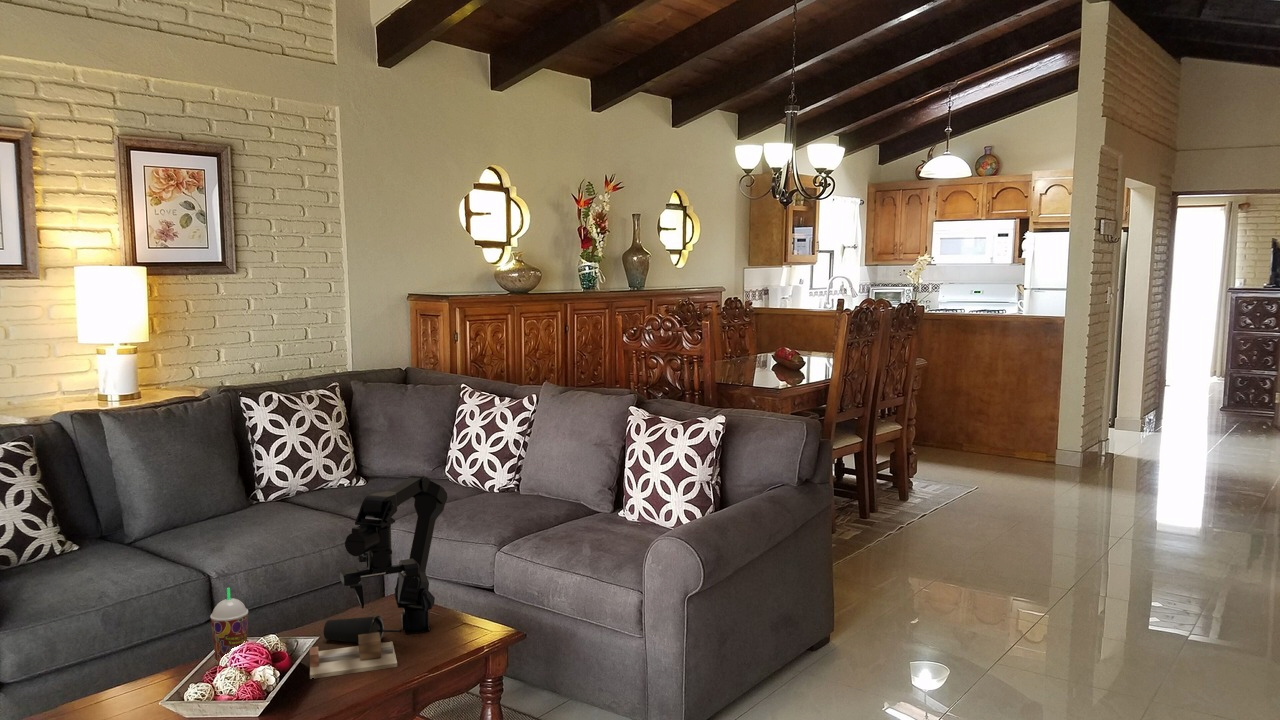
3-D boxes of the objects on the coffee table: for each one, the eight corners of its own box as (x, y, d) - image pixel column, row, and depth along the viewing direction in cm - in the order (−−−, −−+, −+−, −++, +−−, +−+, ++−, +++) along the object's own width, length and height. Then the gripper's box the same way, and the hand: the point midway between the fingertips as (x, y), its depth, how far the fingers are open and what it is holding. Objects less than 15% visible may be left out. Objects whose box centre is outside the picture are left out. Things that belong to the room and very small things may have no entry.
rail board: (392, 645, 230) (392, 630, 230) (397, 666, 217) (396, 650, 217) (310, 656, 224) (309, 640, 223) (310, 679, 210) (309, 662, 210)
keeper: (379, 648, 225) (379, 632, 225) (381, 657, 220) (380, 640, 219) (358, 651, 224) (358, 634, 223) (359, 660, 218) (359, 643, 218)
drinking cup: (337, 629, 239) (408, 630, 236) (325, 651, 232) (398, 652, 230) (330, 608, 235) (402, 609, 233) (318, 629, 229) (392, 631, 226)
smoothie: (231, 677, 211) (228, 595, 209) (204, 672, 214) (201, 591, 212) (257, 663, 219) (255, 584, 217) (231, 658, 222) (228, 580, 220)
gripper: (408, 531, 235) (409, 589, 236) (335, 541, 226) (336, 601, 227) (419, 542, 225) (421, 602, 227) (343, 553, 216) (345, 615, 218)
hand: (381, 604), depth 225 cm, fingers open, 9 cm apart
